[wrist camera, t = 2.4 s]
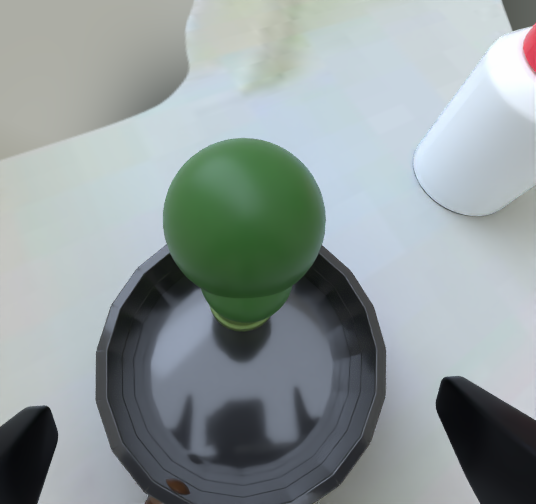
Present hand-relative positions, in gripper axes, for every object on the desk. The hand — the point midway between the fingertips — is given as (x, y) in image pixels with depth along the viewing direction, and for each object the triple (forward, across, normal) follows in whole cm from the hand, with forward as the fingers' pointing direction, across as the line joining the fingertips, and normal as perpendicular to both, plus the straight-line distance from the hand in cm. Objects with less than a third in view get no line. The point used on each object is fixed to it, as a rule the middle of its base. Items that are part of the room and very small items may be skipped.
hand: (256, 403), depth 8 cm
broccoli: (+12, 0, +4) cm, 13 cm away
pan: (+10, 0, +7) cm, 12 cm away
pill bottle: (+19, -17, -2) cm, 26 cm away
